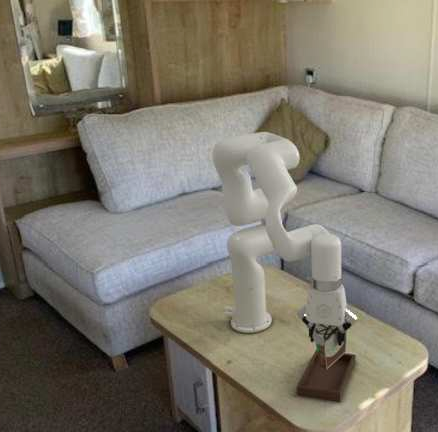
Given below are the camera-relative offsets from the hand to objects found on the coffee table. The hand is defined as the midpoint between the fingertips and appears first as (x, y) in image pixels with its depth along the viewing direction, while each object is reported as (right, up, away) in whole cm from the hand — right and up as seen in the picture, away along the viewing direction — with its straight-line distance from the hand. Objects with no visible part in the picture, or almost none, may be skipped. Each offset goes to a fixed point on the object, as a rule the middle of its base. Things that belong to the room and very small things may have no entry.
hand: (327, 340), depth 166 cm
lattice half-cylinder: (0, -5, +2) cm, 5 cm away
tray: (0, -11, +4) cm, 12 cm away
